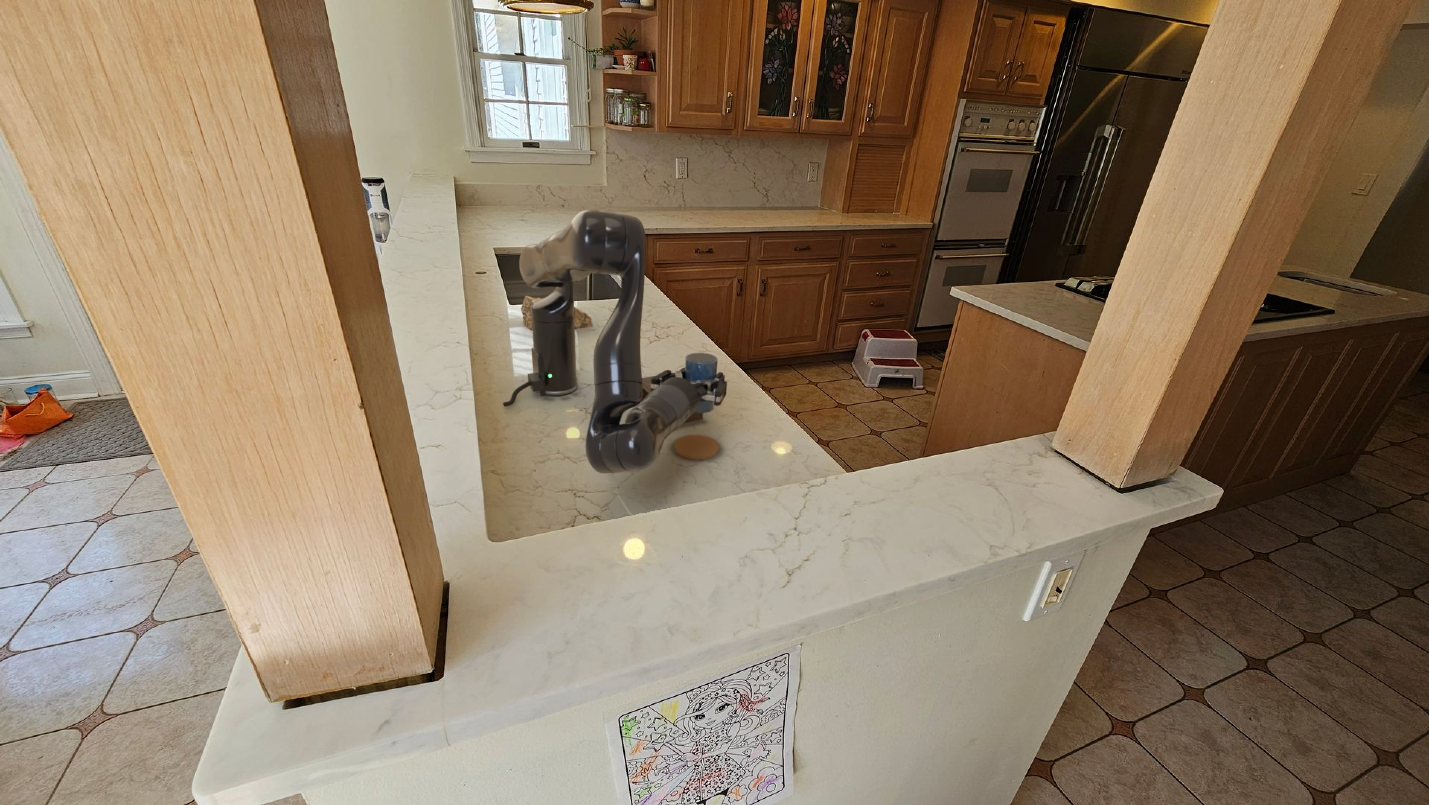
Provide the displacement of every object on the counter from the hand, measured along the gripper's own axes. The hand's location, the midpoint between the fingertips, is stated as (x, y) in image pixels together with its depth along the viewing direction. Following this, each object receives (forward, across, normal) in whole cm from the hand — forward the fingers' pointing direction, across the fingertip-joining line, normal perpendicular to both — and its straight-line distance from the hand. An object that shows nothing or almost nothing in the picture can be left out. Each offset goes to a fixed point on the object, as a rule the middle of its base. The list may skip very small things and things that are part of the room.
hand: (705, 373), depth 117 cm
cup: (-2, 0, +6) cm, 6 cm away
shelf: (+8, +11, +15) cm, 20 cm away
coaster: (-2, 0, +15) cm, 15 cm away
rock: (+44, +63, +15) cm, 79 cm away
